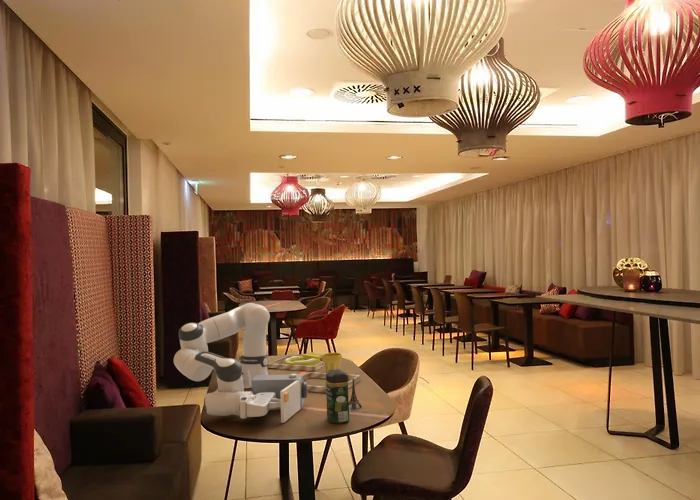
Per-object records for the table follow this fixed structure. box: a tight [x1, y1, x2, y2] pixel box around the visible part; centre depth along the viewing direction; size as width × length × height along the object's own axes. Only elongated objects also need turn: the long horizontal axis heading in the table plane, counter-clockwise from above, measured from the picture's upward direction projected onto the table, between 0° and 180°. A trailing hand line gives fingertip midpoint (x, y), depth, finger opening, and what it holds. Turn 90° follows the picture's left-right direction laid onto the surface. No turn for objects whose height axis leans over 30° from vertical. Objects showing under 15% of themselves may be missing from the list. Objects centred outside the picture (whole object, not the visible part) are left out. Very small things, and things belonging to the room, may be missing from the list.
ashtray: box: [283, 353, 321, 366], centre depth 300 cm, size 16×21×5 cm
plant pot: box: [321, 352, 343, 373], centre depth 279 cm, size 10×10×10 cm
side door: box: [280, 378, 302, 424], centre depth 206 cm, size 19×2×12 cm, turn 165°
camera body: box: [251, 373, 308, 411], centre depth 220 cm, size 22×9×13 cm, turn 89°
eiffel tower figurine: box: [349, 378, 364, 414], centre depth 215 cm, size 15×10×13 cm
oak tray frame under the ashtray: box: [267, 355, 325, 372], centre depth 301 cm, size 29×24×2 cm
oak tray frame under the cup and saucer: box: [303, 371, 361, 394], centre depth 254 cm, size 28×26×2 cm
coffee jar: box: [325, 369, 350, 424], centre depth 200 cm, size 10×8×19 cm
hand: (283, 403), depth 200 cm, fingers closed
